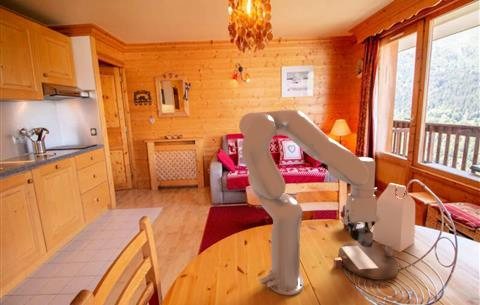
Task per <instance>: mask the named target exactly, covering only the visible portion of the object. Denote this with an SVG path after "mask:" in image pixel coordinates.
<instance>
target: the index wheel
mask: <svg viewBox="0 0 480 305" xmlns="http://www.w3.org/2000/svg"><path fill="white" fill-rule="evenodd" d="M393 252H394V249H393V245H392V244H389V243H387V244H386V245H385V248H383V247H380V246H378V245H375V244H373V243H372V247H369V248H368V247H363V246H362V245H360V244H359V243H358V242H357V241H351V242H346V243H344V244H342V245H341V246H340V247H339V249H338V258H339V257H340V258H341V259H342V266H343V267H345V268H346V269H347V270H348V271H350V272H352V273H354V274H356V275H358V276H361V277H364V278H368V279H373V280H388V279H391V278H393V277H396V275H397V274H398V272H399V262H398V259H397V258H396V256H395V255H394V254H393ZM397 270H398V271H397Z"/></svg>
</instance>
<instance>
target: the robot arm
mask: <svg viewBox="0 0 480 305" xmlns="http://www.w3.org/2000/svg"><path fill="white" fill-rule="evenodd" d="M238 126H239V131H240V133H241V134H242V136H243V138H242V143H241V157H242V160H243V163H244V165H245V167H246V169H247V171H248V176H247V180H248V183H249V185H250V188H251V189H252V191H253V193H254V195H255V197H256V198H257V200H258V201H259V203H260V205H261V206H262V208H263V209H264V210H265V212H266V213H267V214H269V216H270V217H271V218H272V221H273V222H272V223H273V224H272V228H271V231H270V244H271V245H270V246H271V247H270V248H271V252H270V253H271V258H270V259H271V260H270V261H271V269H270V270H268V274H267V275H266V276H263V277H261V278H259V284H260V285H261V286H262V285H266V286H267V288H270V290H272V291H273V292H275V293H277V294H279V295H283V296H292V295H294V296H295V295H297V294H299V293H300V292H302V290H304V287H305V279H304V277H303V276H302V274H301V273H300V270H301V269H300V268H301V265H300V262H301V260H300V257H301V249H300V248H301V241H300V240H301V237H300V235H301V227H302V221H303V216H304V213H303V207H302V206H301V204H300V203H299V201H298V200H296V198H294V197H292V196H291V195H290V194H288V193H287V192H285V191H286V182H285V178H284V177H283V175H282V173H281V172H280V170H279V168H278V166H277V164H276V162H275V160H274V158H273V155H272V153H271V150H270V148H271V147H270V146H271V143H272V140H273V138H274V136H285V137H287V138H289V139H290V140H291V141H292V142H293V143H295V145H297V146H298V148H300V149H301V150H302V151H304V153H305V154H307V155H308V156H310V157H311V158H312V159H314V160H316V161H318V162H320V163H321V164H324V165H327V171H328V174H329V175H330V176H331V177H332V178H333V179H336V180H339V181H341V182H344V183H346V184H349V185H350V193H348V194H347V197H346V200H345V205H346V206H345V216H344V218H342V219H341V222H342V223H343V225H344V224H346V225H348V226H349V227H350V228H351V229H350V233H349V234H350V237H351V239H353V241H354V242H357V241H356V240H357V230H356V227H357V223H362V224H363V223H364V226H365V227H366V228H368V229H369V230H370V231H371V230H372V228H373V227H374V224H375V223H377V222H378V221H379V220H380V219H379V217H378V216H377V199H376V198H377V197H376V195H375V192H378V187H375V180H376V178H375V177H376V175H375V174H376V161H375V159H374V158H371V157H367V156H359V157H358V156H357V155H355V153H353V152H352V151H351V150H349V149H348V148H346V147H344V146H343V145H341V144H340V143H338V142H337V141H335V140H334V139H332V138H331V137H330V136H328V135H327V134H325V132H324V131H323V130H321V129H320V127H318V125H316V123H314V122H313V121H312V120H310V118H309V117H308V116H307V115H306V114H305V113H303V112H301V111H300V110H295V109H288V110H287V109H286V110H285V109H282V110H275V111H274V110H273V111H260V112H248V113H246V114H245V115H243V116H242V117H241V118H240V120H239V124H238ZM349 219H350V223H349V222H348V220H349Z"/></svg>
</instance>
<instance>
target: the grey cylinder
mask: <svg viewBox="0 0 480 305" xmlns="http://www.w3.org/2000/svg"><path fill="white" fill-rule="evenodd" d="M349 223H350V221H349ZM350 229H351V228H350V227H349V230H348V233H349V234H350ZM356 230H357V240H356V241H355V242H358V243H359V244H360V245H362V246H363V247H368V248H369V247H372V244H373V242H374V240H373V231H371V229H370V230H369V229H368V228H366V227H365V224H363V222H362V223H357V227H356Z"/></svg>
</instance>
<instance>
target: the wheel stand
mask: <svg viewBox="0 0 480 305" xmlns="http://www.w3.org/2000/svg"><path fill="white" fill-rule="evenodd" d="M333 267H334V268H335V270H336V269H337V270H338V269H342V268H343V264H342V259H341V258H340V257H339V256H338V257H334V258H333Z"/></svg>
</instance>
